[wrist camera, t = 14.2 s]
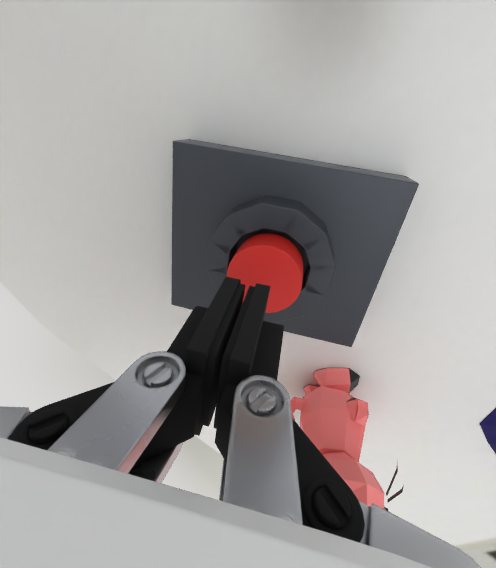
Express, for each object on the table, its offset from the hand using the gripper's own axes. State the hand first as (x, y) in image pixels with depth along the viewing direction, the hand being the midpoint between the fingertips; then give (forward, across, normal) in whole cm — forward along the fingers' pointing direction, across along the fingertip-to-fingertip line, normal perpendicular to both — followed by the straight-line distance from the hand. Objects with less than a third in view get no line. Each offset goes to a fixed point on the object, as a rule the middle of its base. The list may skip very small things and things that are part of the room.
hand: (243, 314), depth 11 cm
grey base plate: (+9, 0, 0) cm, 9 cm away
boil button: (+5, 0, 0) cm, 5 cm away
